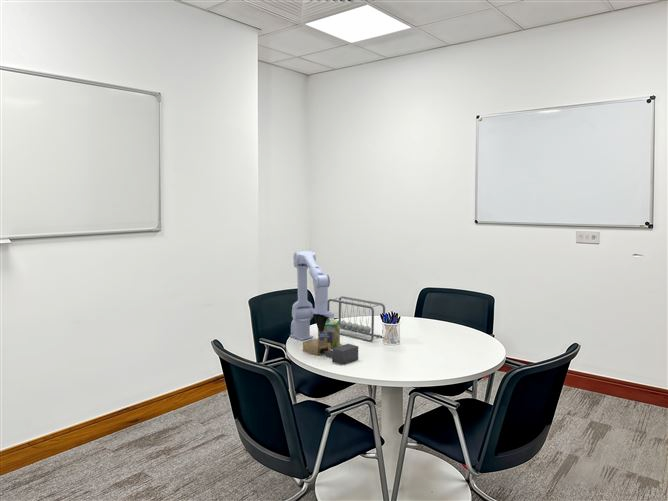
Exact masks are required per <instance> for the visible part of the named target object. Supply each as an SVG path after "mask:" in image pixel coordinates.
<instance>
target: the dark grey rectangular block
mask: <svg viewBox="0 0 668 501" xmlns="http://www.w3.org/2000/svg"><path fill="white" fill-rule="evenodd" d="M324 356H325V357H327V358H330V359H332V360H331V361H332V363H334V362H335V363H334V364H337V363H338V365H341V366H344V365H347V364H350V363H352V362H356V361H359V346H358V345H355V344H350V343H346V344H345V343H344V344H341V345H338V347H335V348H331V350H328V351H325V352H324Z"/></svg>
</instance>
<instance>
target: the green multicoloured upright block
mask: <svg viewBox="0 0 668 501" xmlns="http://www.w3.org/2000/svg"><path fill="white" fill-rule="evenodd" d="M340 333H341V329H340V321H339V320H335V319H331V318H329V320H328V319H327V321H326V324H325V327H324V331H321V332H320V331H318V330H317V336H318V338H317V339H319V340H322V341H326V342H329V343H331V349H332V348H335V347H338V346H340V345H341V344H340V342H341V339H340V337H341V335H340Z"/></svg>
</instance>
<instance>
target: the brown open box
mask: <svg viewBox="0 0 668 501" xmlns="http://www.w3.org/2000/svg"><path fill="white" fill-rule="evenodd" d="M328 350H331V351H332V348H331V343H329V342H326V341H322V340H319V339H318V338H311V339H307V340H305V341H304V340H303V341H302V352H305V353H307V354H309V355H314V356H317V357H320V356H321V352H324V353H325V351H328Z"/></svg>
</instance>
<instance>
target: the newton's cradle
mask: <svg viewBox="0 0 668 501" xmlns="http://www.w3.org/2000/svg"><path fill="white" fill-rule="evenodd" d="M348 300H349V301H348ZM330 302H334V303H338V321H340V330H345V331H350V332H354V333H357V332H358V333H357V334H362V335H367V336H371V337H370V339H368V338H364V337H362V336H361V337H360V336H357V335H353V334H349V333H344V332H340V336H345V337H348V338H352V339H355V340H361V341H365V342H369V343H370V342H373V341H374V340H377V339H379V338H380V339H382V335H380V334H374V333H375V332H374V330H375V309H374V307H378V306H381V308H382V315H383V314H385V315H386V306H385V304H384V303H382V302H377V301H371V300H365V299H360V298H354V297H348V296H343V295H342V296H340V297H336V298H328V309H327V311H329V312H330ZM357 302H358V303H357ZM342 304H345V305H351V306H353V307H354V306H356V307H359V308H360V307H361V308H363V311H362V313H364V312H365V313H364V314H365V316H367V314H366V311H365V309H369V312H368V314H371V324H370V325H371V327H370V326H369V325H368V322H369V319H370V317H368V320H365V321H366V322H365V323H366V326H365V325H364V324H363V323H362V320H363V319H364V316H361V317H362V320H361V319H359V322H360V324H358V323H357V322H356V320H357V317H358V315H356V317H353V318H354V323H352V322H351V321H348V322H346V320H345V319H344V318H345V317H346V316H345V315H346V314H344V317H343V314H342V308H343V305H342ZM348 307H349V306H346V308H345V311H344V312H346V309H347V310H349V308H348ZM359 308H356V309H357V310H356V311H357V312H358V311H359V315H361V313H360V310H359ZM352 309H353V310H352ZM352 311H353V313H355V310H354V308H351V311H350V312H352ZM370 312H371V313H370ZM347 317H348V319H349V320H351V318H352V316H349V315H347ZM328 320H329V318H328ZM382 333H383V331H382ZM382 333H381V334H382ZM374 337H375V338H374Z"/></svg>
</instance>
